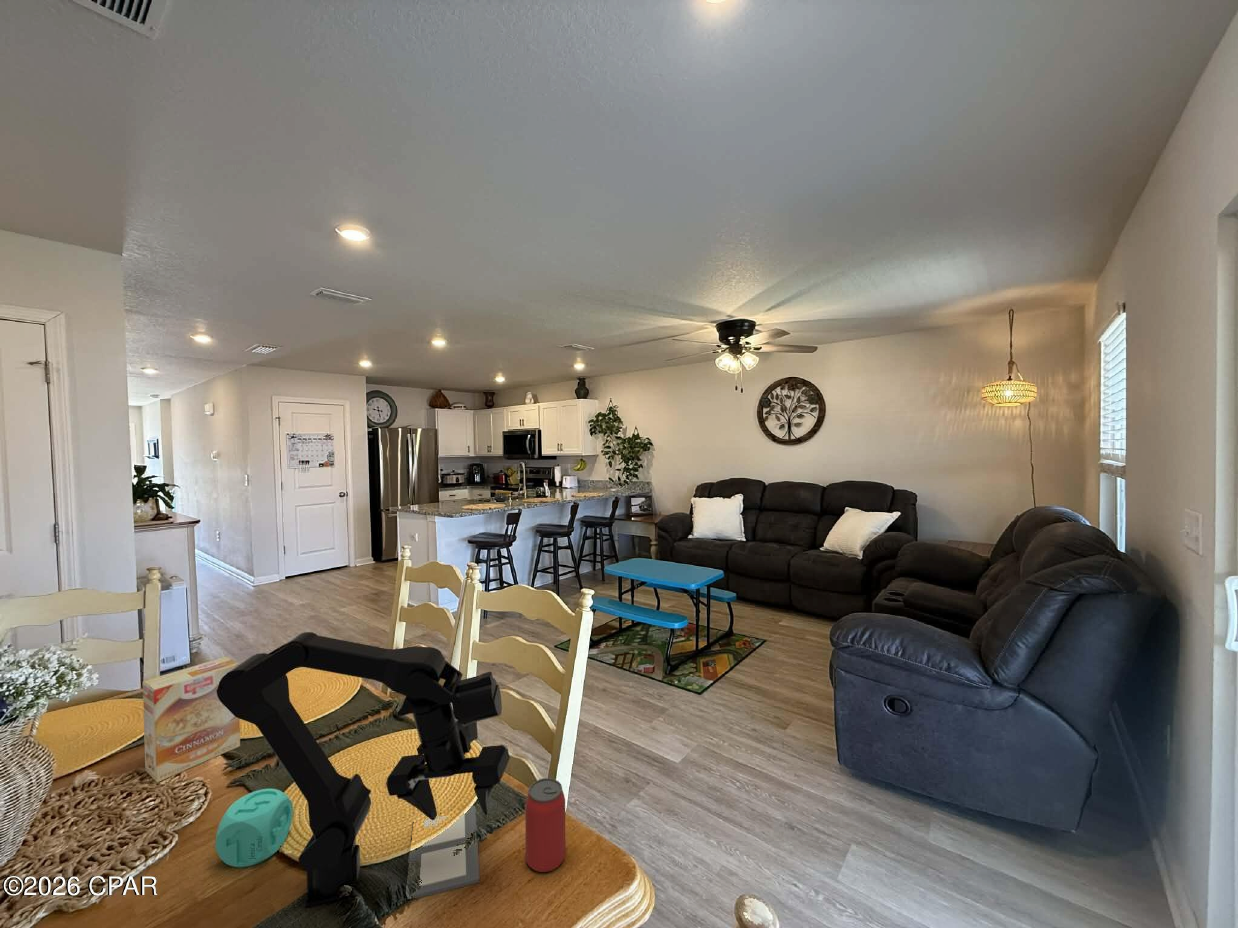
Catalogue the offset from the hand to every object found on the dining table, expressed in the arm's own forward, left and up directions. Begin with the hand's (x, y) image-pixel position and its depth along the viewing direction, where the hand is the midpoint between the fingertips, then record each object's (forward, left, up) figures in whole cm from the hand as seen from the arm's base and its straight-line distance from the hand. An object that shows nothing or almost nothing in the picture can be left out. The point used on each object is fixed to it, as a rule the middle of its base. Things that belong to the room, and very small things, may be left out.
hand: (460, 815), depth 83 cm
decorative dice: (-33, +15, -9) cm, 37 cm away
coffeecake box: (-55, +48, -9) cm, 74 cm away
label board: (-3, +5, -9) cm, 10 cm away
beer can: (+13, -2, -9) cm, 16 cm away
